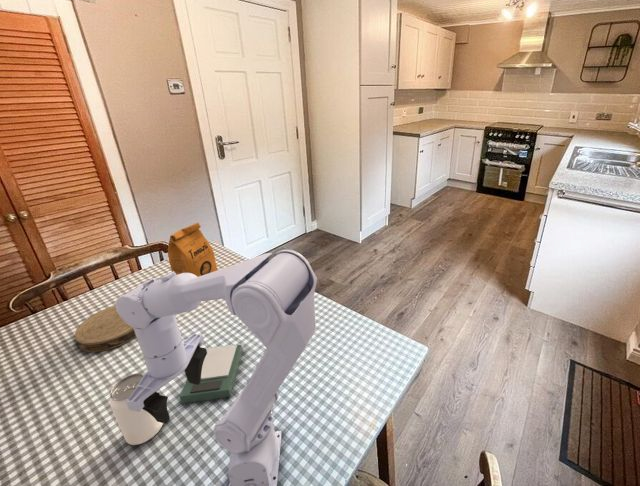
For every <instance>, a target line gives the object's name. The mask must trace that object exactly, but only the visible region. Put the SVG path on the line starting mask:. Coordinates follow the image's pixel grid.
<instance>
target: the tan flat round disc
mask: <svg viewBox="0 0 640 486" xmlns="http://www.w3.org/2000/svg"><path fill="white" fill-rule="evenodd" d="M74 338H75V340H76V343H77V344H78V347H79V349H81V350H82V351H85V352H88V353H89V352H90V353H97V352H98V353H99V352H103V351H104V352H105V351H109V350H111V349H114V348H117V347H120V346H122V345H124V344H126V343H128V342H130V341H131V340H133V339H135V338H137V337H136V334H135V331H134V329H133V327H131V326H130V325H128V324H127V323H126V322H124V321H123V320H122V318H121V317H120V316H119V314H118V312H117V310H116V305H112V306H110V307H107V308H104V309H102V310H100V311H98V312H96V313H94V314H93V315H90V316H89V317H88V318H87V319H85V320H84V321H83V322H81V323H80V325H79V326H78V327H77V328H76V330H75V333H74Z"/></svg>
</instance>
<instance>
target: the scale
mask: <svg viewBox="0 0 640 486" xmlns="http://www.w3.org/2000/svg"><path fill="white" fill-rule="evenodd" d="M205 349H206V350H207V355H206V357H205V359H204V362H203V366H202V372H201V381H200V383H199V385H196V384H192V383H189V381H188V380H187V379H186V380H185V383H184V385H183V388H182V390H181V392H180V395H179V399H180V403H181V404H182V405H183V404H188V403H196V402H203V401H210V400H218V399H225V398H231V395H232V391H233V388H234V385H235V381H236V376H237V373H238V369H239V366H240V363H241V358H242V355H243V345H242V344H232V345H224V346H223V345H222V346H216V347H207V348H206V347H205Z"/></svg>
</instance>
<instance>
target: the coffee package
mask: <svg viewBox="0 0 640 486" xmlns="http://www.w3.org/2000/svg"><path fill="white" fill-rule="evenodd" d="M200 228H202V226H201V224H200V222H196V223H193V224H191V225H189V226H187V227H184V228H181V229H179V230H178V231H175V232H174V233H172V234H171V235H170V236H169V239H168V240H169V241H168V245H167V259H168V262H169V265H170V266H169V267H170V270H171V272H175V273H176V275H178V274H181V273H191V274H194V275H196V276H197V277H199V276H202V275H205V274H208V273H211V272H214V271H217V270H219V269H218V267H217V262H216V255H215V252H214V249H213V248H212V247H213V246H212V245H211V244H210V243H209V241H208V240H207V237H205V236H204V234H203V232H202V231H201V230H200Z"/></svg>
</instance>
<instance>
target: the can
mask: <svg viewBox="0 0 640 486" xmlns="http://www.w3.org/2000/svg"><path fill="white" fill-rule="evenodd" d="M144 375H145V373H141V372H138V373H137V372H136V373H133V374H129V375H127V376H125V377H123V378H121V379H120V380H119V381H118V382H116V383H115V384H114V385H113V386H112V388H111V389H110V392H109V406H110V409H111V411H112V413H113V416H114V418H115V420H116V422H117V424H118V427H119V429H120V431H121V434H122V436H123V438H124V441H125V442H126V444H129V445H132V446H137V445H141V444H145V443H146V442H148V441H150V440H151V439H153V438H154V437H155V436H156V435H157V434H158V433H159V431H160V430H162V429H161V428H162V427H163V425H164V423H161V422H157V421H156V419H155V418H154V417H153V416H152V415H151V414H149V413H148V412H147V411H145V410H143V409H142V410H141V411H140V412H137V411H133V410H129V408H128V406H127V403H126V400H127V399H128V398H129V397H130V396H131V395H132V393H133V392H134V391H135V389H136V387H137V386H138V384H139V383H140V381H141V379H142V378H143V376H144Z"/></svg>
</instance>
